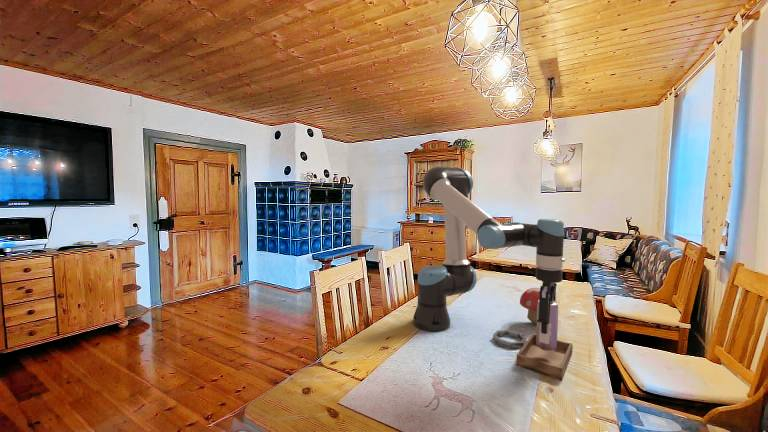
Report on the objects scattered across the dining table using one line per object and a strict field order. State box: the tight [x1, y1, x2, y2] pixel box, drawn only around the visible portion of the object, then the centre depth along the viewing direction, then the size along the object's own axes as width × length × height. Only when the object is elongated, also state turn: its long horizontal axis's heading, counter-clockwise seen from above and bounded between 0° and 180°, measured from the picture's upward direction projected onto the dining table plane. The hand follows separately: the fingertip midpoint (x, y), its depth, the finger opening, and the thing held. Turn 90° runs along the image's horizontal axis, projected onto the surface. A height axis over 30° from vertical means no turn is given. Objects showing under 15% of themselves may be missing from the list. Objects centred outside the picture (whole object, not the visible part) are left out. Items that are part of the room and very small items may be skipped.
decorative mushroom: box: [519, 287, 540, 325], centre depth 131 cm, size 13×13×15 cm
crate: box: [515, 333, 574, 381], centre depth 103 cm, size 13×20×4 cm, turn 142°
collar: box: [492, 329, 528, 350], centre depth 115 cm, size 10×10×2 cm
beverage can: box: [535, 300, 559, 351], centre depth 102 cm, size 6×6×15 cm
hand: (546, 338), depth 102 cm, fingers closed on beverage can, 6 cm apart
